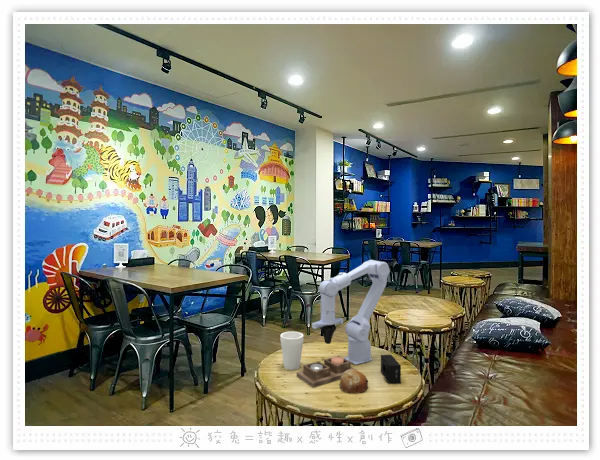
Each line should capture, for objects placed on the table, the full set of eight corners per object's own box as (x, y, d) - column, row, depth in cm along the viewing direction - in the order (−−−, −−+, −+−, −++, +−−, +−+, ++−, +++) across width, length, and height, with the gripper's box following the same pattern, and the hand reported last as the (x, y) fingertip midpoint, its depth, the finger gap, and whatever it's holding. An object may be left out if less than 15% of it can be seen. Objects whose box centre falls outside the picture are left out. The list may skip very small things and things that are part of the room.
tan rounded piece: (338, 363, 143) (338, 355, 142) (345, 367, 139) (346, 359, 138) (328, 365, 140) (328, 358, 140) (336, 370, 136) (336, 362, 136)
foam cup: (300, 372, 139) (300, 339, 138) (277, 370, 141) (277, 338, 140) (305, 363, 148) (305, 332, 148) (283, 361, 150) (283, 330, 150)
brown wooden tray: (339, 364, 147) (339, 353, 147) (357, 374, 138) (357, 362, 138) (296, 376, 136) (296, 364, 135) (312, 387, 126) (312, 375, 126)
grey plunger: (318, 370, 137) (318, 362, 137) (325, 375, 133) (325, 367, 133) (307, 373, 135) (307, 365, 135) (315, 378, 131) (315, 370, 131)
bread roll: (343, 390, 132) (334, 371, 132) (368, 379, 132) (359, 359, 132) (345, 404, 122) (336, 383, 122) (372, 392, 122) (363, 371, 122)
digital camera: (377, 372, 140) (377, 354, 140) (390, 371, 140) (391, 354, 140) (386, 384, 129) (386, 365, 129) (400, 383, 130) (400, 365, 130)
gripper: (335, 305, 152) (335, 337, 152) (307, 310, 144) (307, 343, 145) (346, 309, 146) (346, 341, 147) (317, 314, 138) (317, 348, 139)
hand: (327, 343), depth 145 cm, fingers closed
